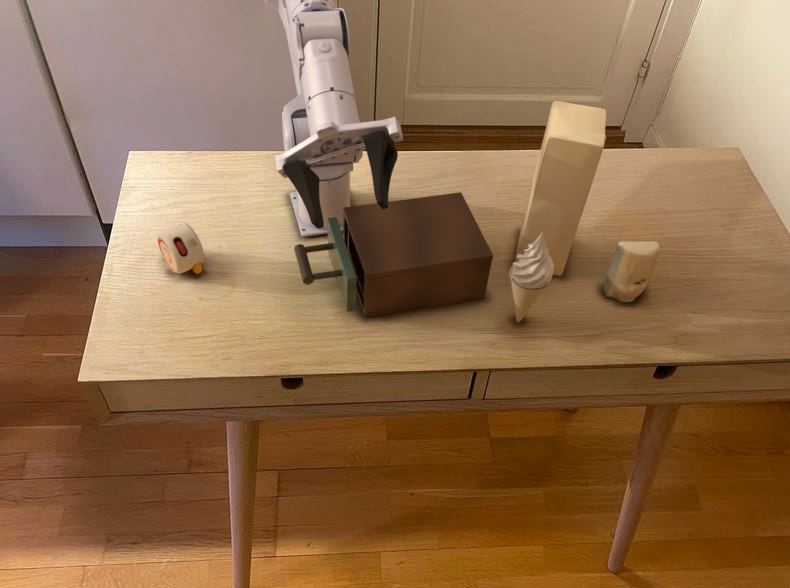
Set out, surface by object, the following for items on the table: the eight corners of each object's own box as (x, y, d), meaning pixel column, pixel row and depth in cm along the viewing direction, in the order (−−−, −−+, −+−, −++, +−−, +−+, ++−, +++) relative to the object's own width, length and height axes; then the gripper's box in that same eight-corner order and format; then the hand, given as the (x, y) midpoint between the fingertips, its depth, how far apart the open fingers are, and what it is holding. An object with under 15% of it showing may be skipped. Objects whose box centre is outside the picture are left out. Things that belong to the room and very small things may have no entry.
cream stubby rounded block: (621, 271, 104) (638, 226, 97) (652, 292, 101) (672, 247, 95) (595, 289, 101) (611, 244, 95) (626, 311, 99) (645, 267, 92)
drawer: (308, 318, 93) (306, 285, 89) (291, 256, 100) (289, 222, 96) (460, 294, 98) (465, 261, 93) (434, 236, 104) (438, 203, 100)
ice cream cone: (507, 338, 94) (530, 249, 83) (493, 309, 97) (513, 219, 86) (544, 331, 95) (571, 242, 84) (529, 303, 99) (553, 213, 87)
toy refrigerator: (567, 278, 102) (610, 146, 86) (514, 268, 103) (546, 135, 86) (571, 240, 107) (612, 108, 91) (520, 231, 108) (551, 98, 91)
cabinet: (365, 317, 95) (366, 274, 89) (342, 251, 103) (343, 207, 97) (484, 298, 99) (493, 255, 93) (454, 235, 106) (461, 191, 100)
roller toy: (189, 244, 102) (182, 211, 97) (213, 271, 99) (207, 238, 94) (159, 257, 100) (151, 223, 95) (182, 285, 97) (174, 251, 92)
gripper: (257, 108, 83) (273, 220, 80) (379, 66, 80) (401, 180, 77) (284, 138, 90) (300, 242, 87) (399, 100, 87) (420, 207, 83)
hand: (349, 215), depth 82 cm, fingers open, 7 cm apart
